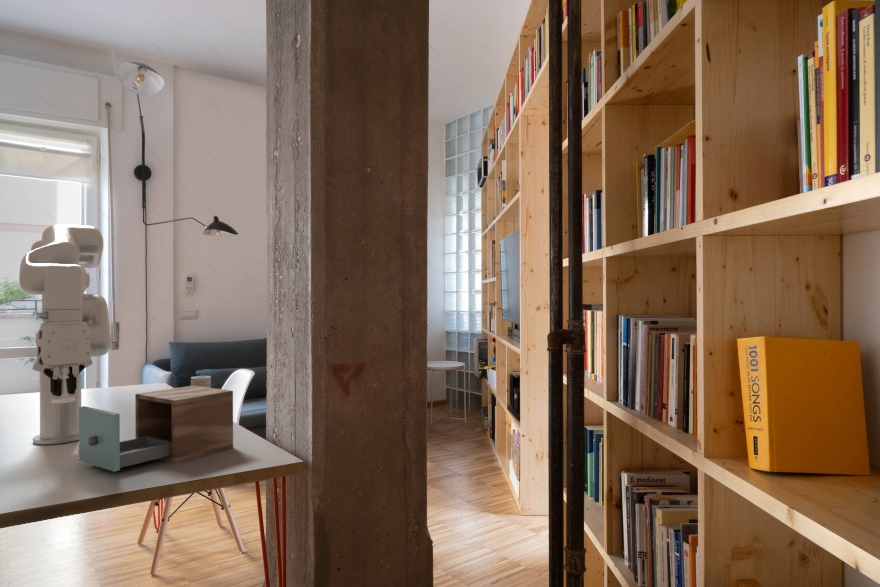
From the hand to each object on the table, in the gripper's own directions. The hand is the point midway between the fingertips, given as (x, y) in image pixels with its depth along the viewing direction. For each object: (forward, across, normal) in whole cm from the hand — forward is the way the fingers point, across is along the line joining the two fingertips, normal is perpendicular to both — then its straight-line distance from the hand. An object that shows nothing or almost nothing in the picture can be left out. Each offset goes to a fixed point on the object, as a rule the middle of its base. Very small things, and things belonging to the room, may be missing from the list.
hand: (63, 393), depth 136 cm
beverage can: (+17, +40, +5) cm, 43 cm away
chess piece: (+2, 0, 0) cm, 2 cm away
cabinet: (+16, +22, -15) cm, 31 cm away
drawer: (+14, +7, -15) cm, 22 cm away
